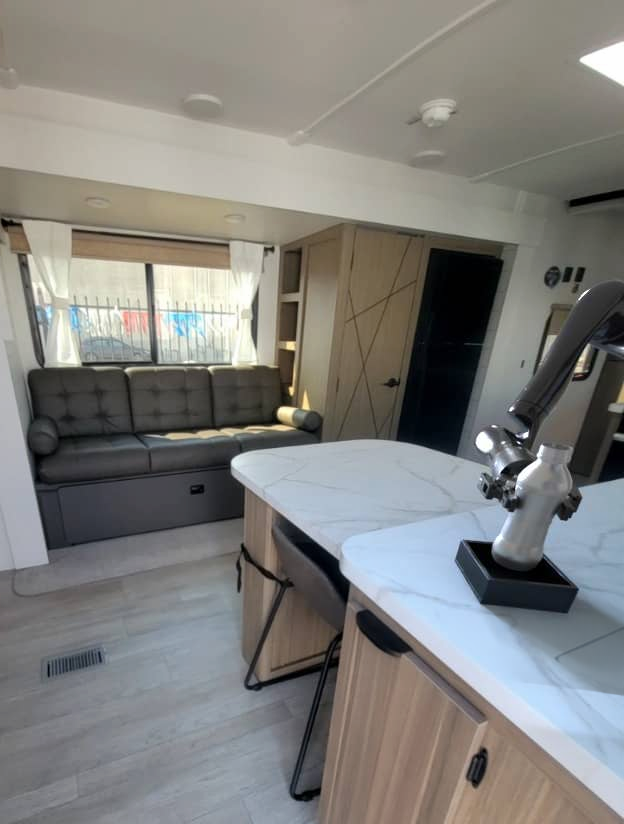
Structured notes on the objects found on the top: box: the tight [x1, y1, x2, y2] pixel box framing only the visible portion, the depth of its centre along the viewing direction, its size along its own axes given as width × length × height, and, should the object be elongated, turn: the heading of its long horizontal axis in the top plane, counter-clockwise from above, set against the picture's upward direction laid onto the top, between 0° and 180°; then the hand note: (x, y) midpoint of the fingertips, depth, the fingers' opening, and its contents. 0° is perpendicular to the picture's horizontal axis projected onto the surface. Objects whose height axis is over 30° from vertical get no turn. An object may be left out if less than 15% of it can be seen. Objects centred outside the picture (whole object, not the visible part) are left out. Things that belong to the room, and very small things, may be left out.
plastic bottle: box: [492, 442, 574, 571], centre depth 61 cm, size 6×7×20 cm
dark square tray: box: [454, 539, 580, 614], centre depth 66 cm, size 12×12×4 cm
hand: (539, 510), depth 59 cm, fingers closed on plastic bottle, 6 cm apart
